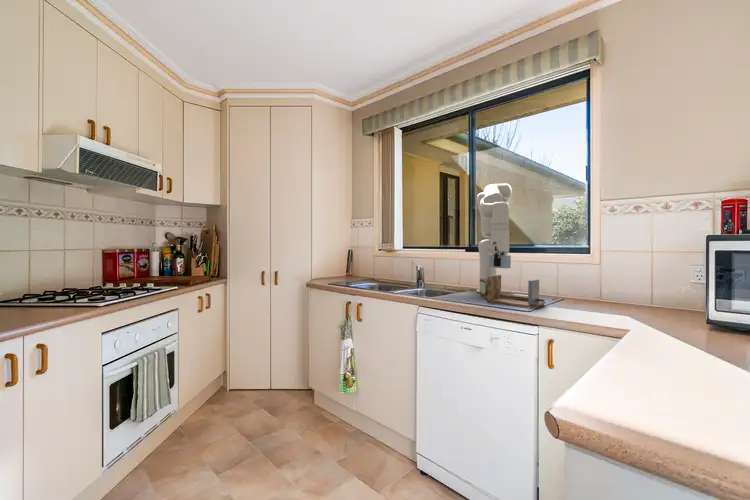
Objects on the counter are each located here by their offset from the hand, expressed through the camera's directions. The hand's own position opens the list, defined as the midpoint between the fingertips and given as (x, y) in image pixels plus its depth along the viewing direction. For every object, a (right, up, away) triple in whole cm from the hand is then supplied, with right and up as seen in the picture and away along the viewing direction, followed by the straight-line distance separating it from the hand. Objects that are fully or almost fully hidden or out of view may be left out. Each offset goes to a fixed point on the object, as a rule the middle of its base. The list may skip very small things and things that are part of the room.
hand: (499, 265), depth 168 cm
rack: (+9, -19, +3) cm, 21 cm away
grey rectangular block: (0, -1, 0) cm, 1 cm away
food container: (+1, -19, +21) cm, 28 cm away
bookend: (+16, -18, -5) cm, 24 cm away
